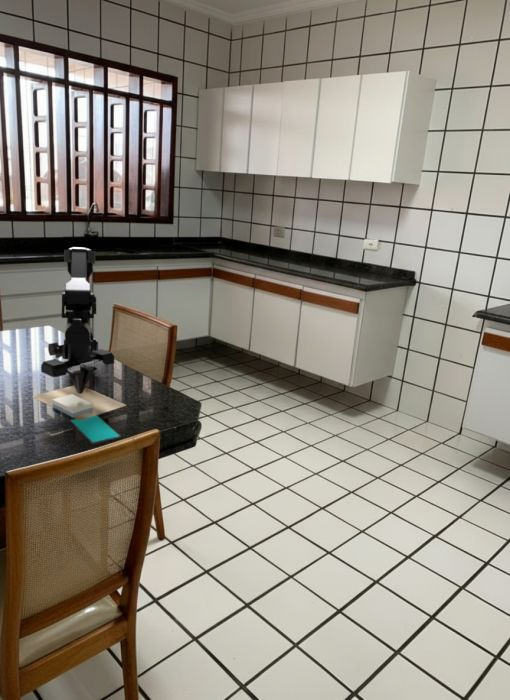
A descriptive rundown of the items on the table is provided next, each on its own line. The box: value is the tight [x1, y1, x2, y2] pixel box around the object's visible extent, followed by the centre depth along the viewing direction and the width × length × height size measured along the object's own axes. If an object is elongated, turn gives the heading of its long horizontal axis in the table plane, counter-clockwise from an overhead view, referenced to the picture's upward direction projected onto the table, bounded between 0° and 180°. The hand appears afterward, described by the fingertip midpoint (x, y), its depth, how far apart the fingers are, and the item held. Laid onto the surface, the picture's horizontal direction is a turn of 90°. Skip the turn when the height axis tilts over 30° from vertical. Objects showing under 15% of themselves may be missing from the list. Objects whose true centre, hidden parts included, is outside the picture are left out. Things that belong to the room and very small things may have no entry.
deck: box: [52, 394, 93, 418], centre depth 142 cm, size 2×9×6 cm
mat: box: [31, 385, 127, 420], centre depth 148 cm, size 15×22×1 cm
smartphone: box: [69, 415, 122, 446], centre depth 132 cm, size 7×1×15 cm
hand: (79, 393), depth 142 cm, fingers closed
